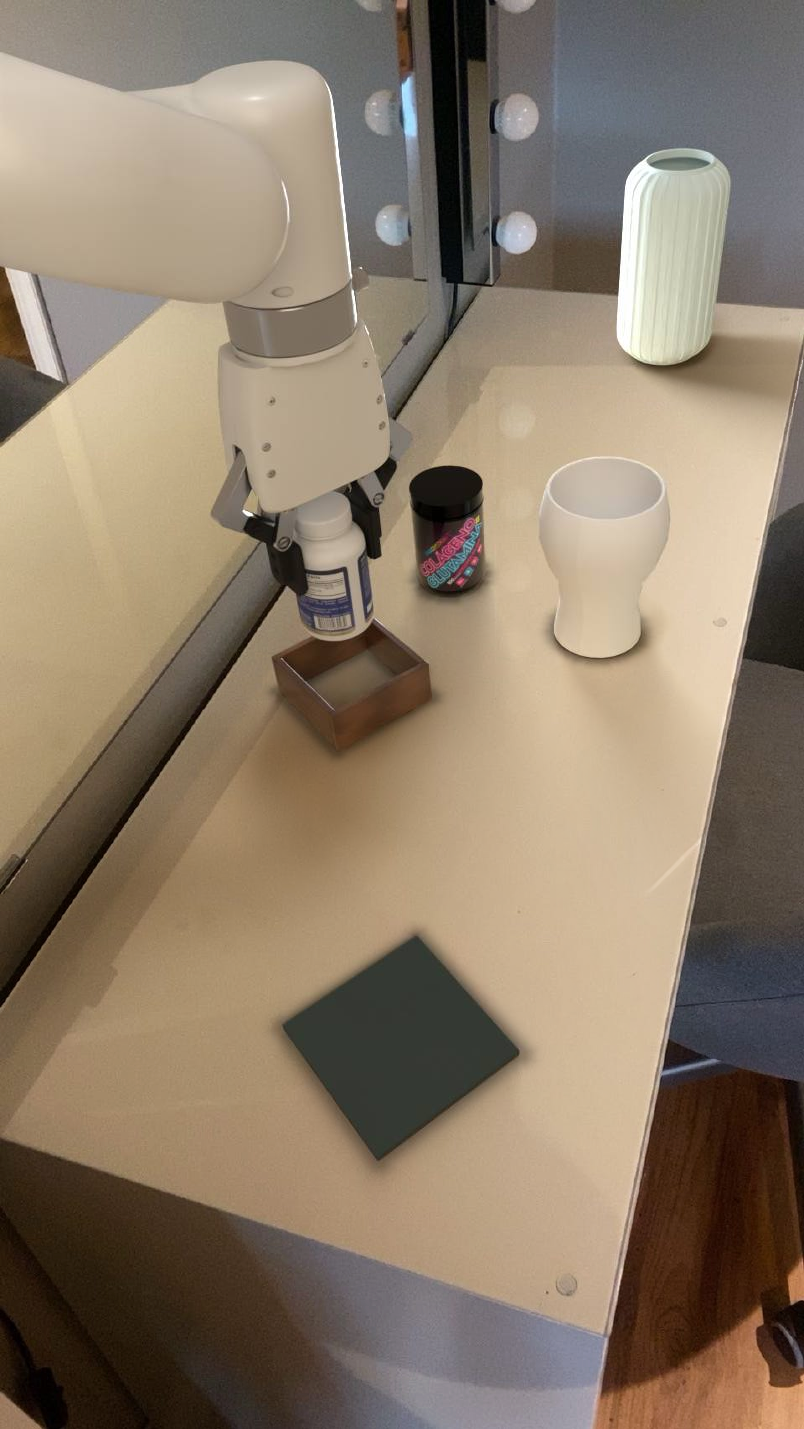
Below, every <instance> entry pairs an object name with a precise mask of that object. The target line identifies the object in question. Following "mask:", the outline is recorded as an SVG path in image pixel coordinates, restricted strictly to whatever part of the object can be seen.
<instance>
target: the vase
mask: <svg viewBox="0 0 804 1429" xmlns="http://www.w3.org/2000/svg"><path fill="white" fill-rule="evenodd" d="M731 181H732V180H731V176H730V173H729V170H728V168H727V167H726V165H725V164H724V163H723V162H722V161H721V160H719V158H717V157H716V156H715V155H714V154H712V153H711V152H708V151H706V150H702V149H697V148H686V147H685V148H683V147H681V148H669V149H663V150H659V151H656V152H653V153H651V154H649V155H648V156H647V157H645V159H643V160H642V161H640V162H639V163H638V164H636V166H635V167H634V168H633V169H632V170H631V172H630V174H628V177H627V179H626V182H625V186H624V187H625V188H624V203H623V218H622V219H623V220H622V234H621V235H622V236H621V252H620V268H619V272H620V273H619V284H618V285H619V286H618V303H617V317H616V318H617V319H616V337H617V340H618V343H619V345H620V346H621V348H622V349H623V350H624V351H625V352H626V353H627V354H628V355H630V356H631V357H633V359H635V360H636V361H639V362H641V363H644V364H648V365H653V366H672V365H676V364H680V363H683V362H685V361H687V360H690V359H691V358H693V357H695V356H696V355H698V354H699V353H700V352H701V351H703V349H704V348H705V347H706V346H707V345H708V343H709V342H710V340H711V337H712V333H713V327H714V320H715V312H716V303H717V296H718V288H719V282H720V273H721V265H722V256H723V249H724V241H725V234H726V226H727V218H728V210H729V203H730V202H729V201H730V194H731V185H732V184H731V183H732V182H731Z"/></svg>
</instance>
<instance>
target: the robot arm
mask: <svg viewBox="0 0 804 1429" xmlns="http://www.w3.org/2000/svg"><path fill="white" fill-rule="evenodd" d="M334 110H335V109H334V104H333V97H332V93H331V90H330V88H329V85H328V83H327V81H326V80H325V78H324V77H323V76H322V75H321V73H320V72H318V71H317V70H316V69H315V68H313V67H311V66H310V65H308V64H304V63H301V62H296V61H292V60H291V61H290V60H258V61H249V62H243V63H238V64H233V65H229V66H225V67H221V68H218V69H216V70H212V71H211V72H209V73H207V74H205V75H203V76H202V77H200V78H199V79H198V80H196V81H194V82H192V83H187V84H181V85H180V84H179V85H173V86H167V87H159V88H151V89H140V90H130V91H129V90H127V91H121V90H118V89H115V88H112V87H109V86H105V85H102V84H99V83H96V82H94V81H89V80H87V79H83V78H80V77H79V76H75V75H72V74H68V73H65V72H61V71H58V70H56V69H53V68H51V67H47V66H44V65H41V64H38V63H35V62H32V61H29V60H26V59H23V58H21V57H17V56H15V55H11V54H8V53H6V52H3V51H0V267H1V268H6V269H10V270H14V271H19V272H23V273H28V274H31V275H38V276H42V277H46V278H50V279H56V280H60V281H64V282H70V283H73V284H79V285H83V286H84V285H85V286H89V287H92V288H93V287H94V288H99V289H105V290H111V291H116V292H122V293H129V294H134V295H135V294H136V295H143V296H148V297H153V298H160V299H166V300H170V301H171V300H172V301H179V302H186V303H194V304H202V305H210V304H212V305H213V304H220V303H222V308H223V312H224V318H225V323H226V327H227V333H228V337H229V341H228V342H225V343H223V344H222V345H220V346H219V348H218V352H217V353H218V355H217V398H218V412H219V422H220V431H221V438H222V446H223V451H224V452H223V453H224V458H225V463H226V469H227V476H226V478H225V480H224V482H223V484H222V486H221V488H220V491H219V493H218V495H217V497H216V499H215V501H214V503H213V505H212V507H211V509H210V517H211V519H213V520H214V521H215V522H216V523H217V524H218V525H219V526H221V527H223V528H224V529H227V530H231V531H233V532H237V533H240V534H244V535H246V536H247V535H248V536H249V537H250V538H252V539H253V540H254V539H255V540H257V541H259V542H261V543H264V544H265V546H266V552H267V556H268V561H269V566H270V571H271V574H272V577H273V578H274V580H275V581H276V582H277V583H279V584H280V585H281V586H284V585H285V586H286V587H287V588H288V589H290V590H291V592H293V593H294V594H295V595H296V594H297V595H298V596H299V597H300V596H302V595H304V594H306V593H307V591H308V583H307V578H306V572H305V566H304V560H303V554H302V549H301V547H300V545H299V544H297V543H296V542H295V541H294V540H292V539H293V532H294V525H295V518H296V511H297V506H299V505H301V504H303V503H306V502H308V501H310V500H312V499H314V498H317V497H319V496H321V495H323V494H325V493H328V492H330V491H334V490H336V489H339V488H342V487H343V486H345V485H347V487H348V489H349V491H348V492H346V493H344V494H343V495H344V496H345V497H347V499H348V500H349V502H350V508H351V514H352V521H353V522H355V523H356V524H357V525H358V526H359V527H360V528H361V530H362V532H363V534H364V537H365V543H366V550H367V558H368V559H370V560H373V561H374V560H375V561H376V560H377V559H379V558H381V557H382V556H383V555H382V545H381V538H382V537H383V532H382V523H381V522H382V521H381V512H380V507H381V506H382V505H383V504H385V501H386V498H387V495H386V493H385V490H386V489H387V487H388V485H389V484H390V482H391V480H392V478H393V476H394V475H395V473H396V471H397V469H398V462H400V461H401V460H402V458H403V457H404V455H405V454H406V452H407V451H408V449H409V447H410V446H411V444H412V442H413V439H414V436H413V434H412V432H411V431H409V430H408V429H407V428H406V427H404V426H403V425H401V424H400V423H399V422H398V421H396V420H395V419H393V417H391V416H389V415H388V407H387V403H386V395H385V389H384V386H383V381H382V375H381V371H380V367H379V364H378V359H377V356H376V352H375V349H374V346H373V343H372V340H371V337H370V333H369V331H368V329H367V326H366V323H365V321H364V320H363V319H362V317H361V316H359V315H357V314H358V304H357V297H358V296H359V295H360V294H361V293H362V292H364V291H368V290H369V289H370V279H369V276H368V274H367V271H366V270H365V269H364V268H363V267H361V266H360V267H356V268H354V269H352V266H351V257H350V247H349V246H350V245H349V239H348V226H347V219H346V209H345V202H344V201H345V200H344V190H343V181H342V173H341V164H340V163H341V162H340V155H339V147H338V146H339V144H338V137H337V136H338V135H337V128H336V126H337V125H336V118H335V111H334ZM252 491H253V494H254V495H255V497H256V498H257V507H256V513H254V512H252V511H250V510H247V509H244V507H245V505H246V503H247V500H248V498H249V495H250V494H251V492H252Z"/></svg>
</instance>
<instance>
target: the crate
mask: <svg viewBox="0 0 804 1429" xmlns="http://www.w3.org/2000/svg"><path fill="white" fill-rule="evenodd" d="M365 650H368V651H369V652H371V654H373V655H374V656H375V658H376V659H378V660H379V661H381V662H382V663H383V664H384V665H385V666H386V667H387V668H389V669H390V671H392V672H393V673H394V674H395V675H396V676H395V677H393V678H391V679H389V680H387V681H385V682H384V683H382V684H379V685H378V686H377V687H374V688H373V689H371V690H369V691H367V692H365V693H364V694H362V695H359V696H358V697H356V698H354V699H352V700H350V701H349V702H347V703H346V704H343V705H342V706H339V707H338V708H336V709H334V708H333V707H332V706H331V705H330V704H329V703H328V702H327V701H326V700H325V699H323V697H322V696H321V695H319V694H318V692H316V691H315V689H314V688H312V687H311V685H309V684H308V682H307V681H309V680H311V679H313V678H315V677H316V676H319V675H320V674H322V673H324V672H327V671H328V670H329V669H332V668H333V667H336V666H337V665H339V664H341V663H343V662H344V661H347V660H349V659H350V658H353V657H354V656H356V655H358V654H359V653H362V652H364V651H365ZM271 662H272V666H273V668H274V669H273V671H274V674H275V679H276V683H277V688H278V691H279V692H280V693H281V694H282V695H283V696H284V697H285V699H287V701H289V703H290V704H292V705H293V706H294V707H295V708H296V709H297V710H298V712H299V713H300V714H301V715H302V716H304V718H305V719H307V721H308V723H310V724H311V725H312V726H313V727H314V728H315V729H316V731H318V733H320V734H321V735H322V736H323V737H324V738H325V740H327V741H328V742H329V743H330V745H331V746H333V747H334V749H336V751H338V752H340V751H342V750H343V749H345V748H347V747H349V746H351V745H353V744H354V743H355V742H357V741H359V740H361V739H363V738H364V737H366V736H368V735H370V734H372V733H374V732H375V731H377V730H378V729H381V728H382V727H384V726H386V725H387V724H390V723H391V722H393V721H394V720H396V719H398V718H400V717H402V716H403V715H405V714H407V713H409V712H411V711H412V710H414V709H416V708H417V707H419V706H421V705H423V704H424V703H426V702H428V701H430V700H432V699H433V694H432V683H431V670H430V663H428V662H427V661H426V660H425V659H424V658H422V656H420V655H419V654H418V653H417V652H416V651H414V650H413V649H412V648H411V647H410V646H408V644H406V643H405V642H404V641H402V640H401V639H400V638H399V637H398V636H396V635H395V634H394V633H393V632H392V631H391V630H390V629H388V628H387V627H386V626H385V625H383V624H382V623H381V622H380V621H378V619H377V618H375V616H373V620H372V622H371V624H370V625H369V626H368V627H367V629H366V630H364V631H363V632H362V633H360V634H359V635H357V636H355V637H352V638H350V639H346V640H342V641H326V640H321V639H318V638H315V637H313V636H311V635H310V636H309V637H307V638H305V639H303V640H301V641H299V642H297V643H295V644H293V645H291V646H290V647H288V648H286V649H284V650H282V651H280V652H278V653H276V654H274V655H272V656H271Z"/></svg>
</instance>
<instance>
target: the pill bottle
mask: <svg viewBox="0 0 804 1429" xmlns="http://www.w3.org/2000/svg"><path fill="white" fill-rule="evenodd" d="M292 540H294V541H295V542H296V543H297V544H299V545H300V547H301V549H302V554H303V560H304V566H305V572H306V578H307V583H308V591H307V593H306V594H304V595H302V596H300V597H299V596H298V595H297V594H296V593H295V597H296V602H297V609H298V613H299V618H300V622H301V625H302V627H303V629H304V631H305V632H306V633H308V634H309V635H310V637H311V636H313V637H315V638H318V639H321V640H326V641H342V640H346V639H350V638H352V637H355V636H357V635H359V634H360V633H362V632H363V631H364V630H366V629H367V627H368V626H369V625H370V624H371V622H372V620H373V617H375V616H374V615H375V608H374V607H375V606H374V599H373V598H374V597H373V591H372V582H371V575H370V574H371V573H370V566H369V558H368V556H367V550H366V543H365V537H364V534H363V532H362V530H361V528H360V527H359V526H358V525H357V524H356V523H355V522H353V521H352V514H351V508H350V502H349V500H348V499H347V497H345V496H344V494H342V493H341V492H337V491H334V490H332V491H330V492H328V493H325V494H323V495H321V496H319V497H317V498H314V499H312V500H310V501H308V502H306V503H303V504H301V505H299V506H297V511H296V518H295V525H294V532H293V539H292Z"/></svg>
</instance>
